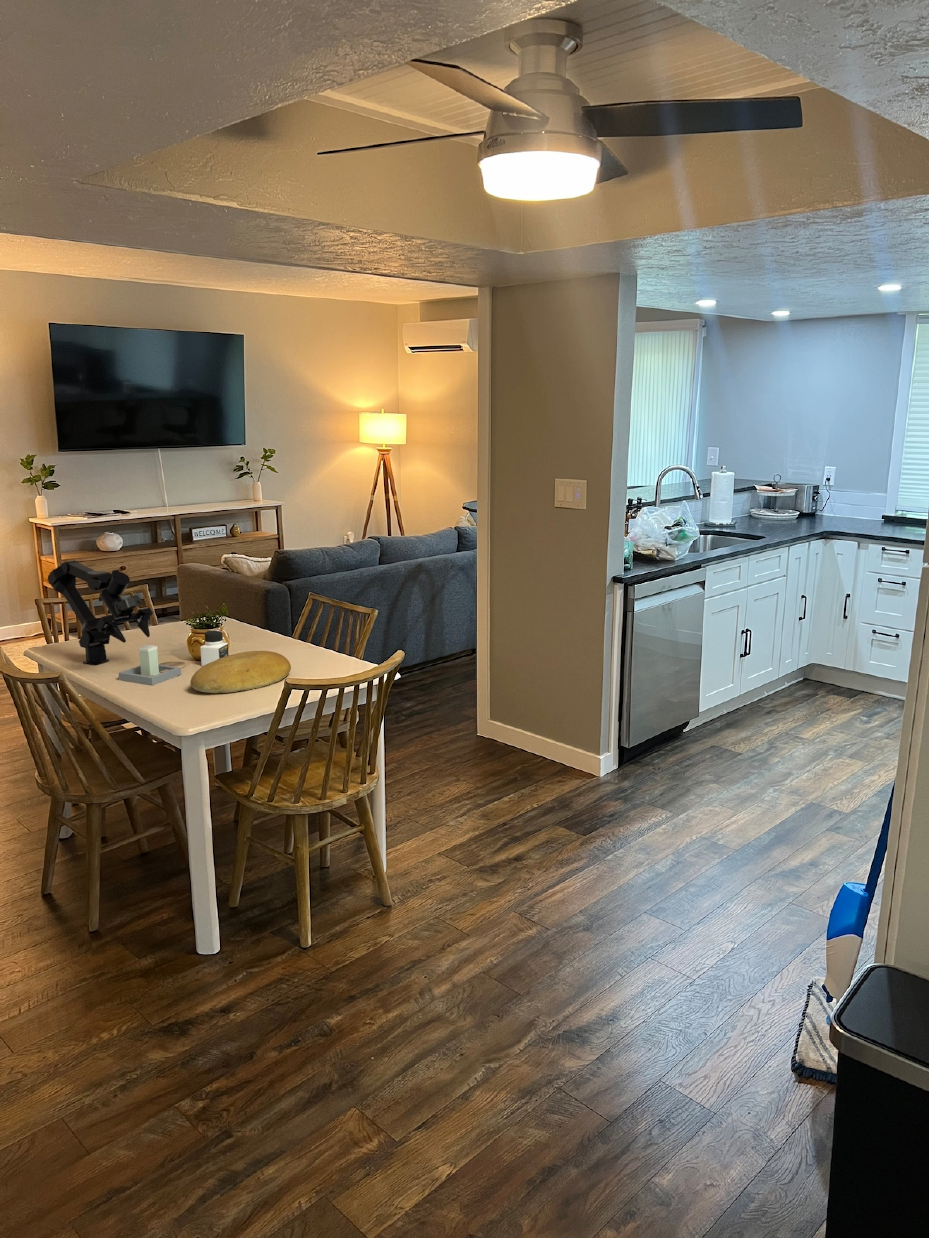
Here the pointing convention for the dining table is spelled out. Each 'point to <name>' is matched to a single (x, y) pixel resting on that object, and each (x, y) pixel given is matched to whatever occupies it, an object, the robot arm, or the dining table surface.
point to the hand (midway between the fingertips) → (137, 639)
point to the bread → (241, 672)
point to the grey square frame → (134, 676)
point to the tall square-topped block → (149, 660)
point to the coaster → (174, 664)
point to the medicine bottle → (213, 647)
